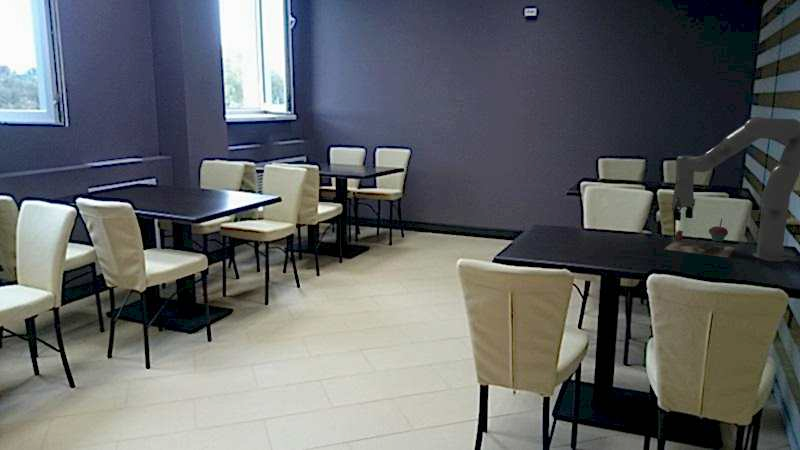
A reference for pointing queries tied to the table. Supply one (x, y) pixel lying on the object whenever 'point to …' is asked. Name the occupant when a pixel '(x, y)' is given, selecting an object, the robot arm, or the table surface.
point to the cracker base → (690, 249)
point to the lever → (680, 240)
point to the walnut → (706, 247)
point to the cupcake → (718, 233)
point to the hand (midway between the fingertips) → (683, 219)
